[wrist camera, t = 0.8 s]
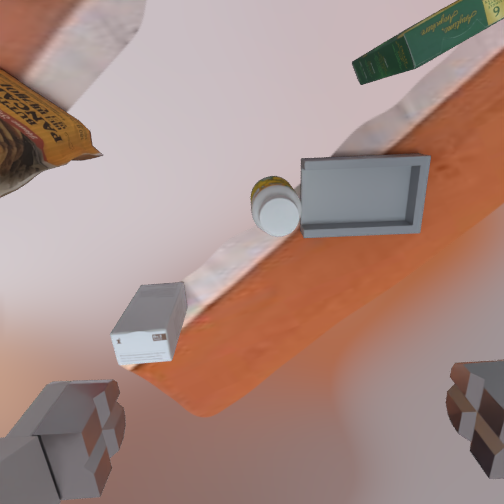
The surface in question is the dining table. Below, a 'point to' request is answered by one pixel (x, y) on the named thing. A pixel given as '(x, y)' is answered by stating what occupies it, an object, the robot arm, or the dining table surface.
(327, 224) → the bottle rest
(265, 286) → the dining table surface
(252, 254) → the dining table surface
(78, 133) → the pancake mix bag
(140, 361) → the skincare box
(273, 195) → the supplement bottle
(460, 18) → the coffee box
